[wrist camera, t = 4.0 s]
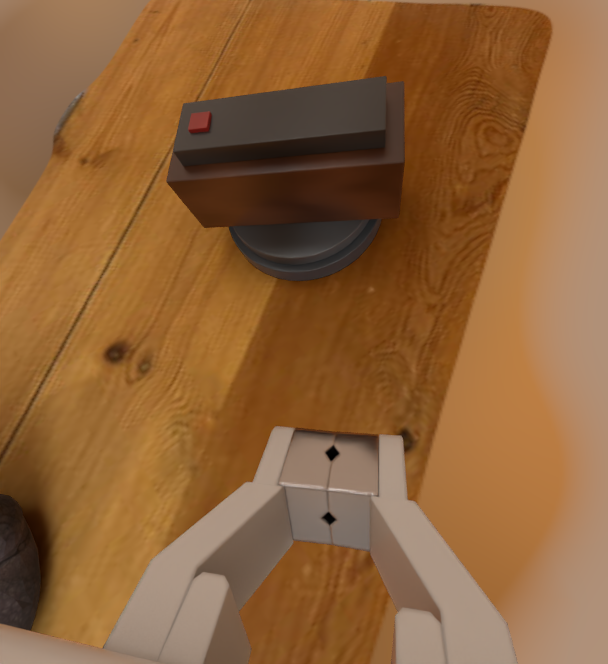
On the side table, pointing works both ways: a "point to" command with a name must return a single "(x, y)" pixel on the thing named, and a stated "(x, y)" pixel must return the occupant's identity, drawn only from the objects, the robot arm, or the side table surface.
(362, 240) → the turntable base
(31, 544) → the teapot
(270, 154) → the remote caddy
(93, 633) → the side table surface
